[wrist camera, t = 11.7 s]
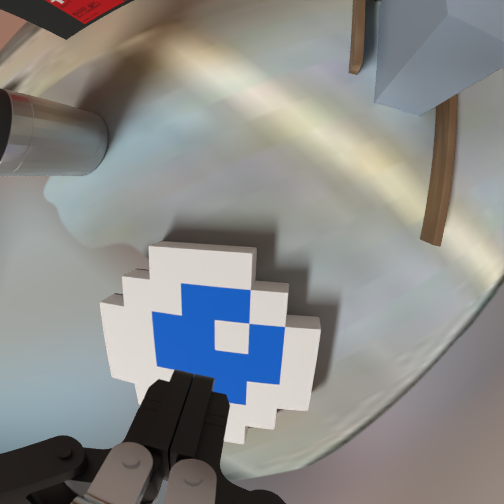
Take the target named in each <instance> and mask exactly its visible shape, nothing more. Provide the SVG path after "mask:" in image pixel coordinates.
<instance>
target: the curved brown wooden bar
mask: <svg viewBox="0 0 504 504" xmlns="http://www.w3.org/2000/svg"><path fill="white" fill-rule="evenodd" d="M364 33H365V0H353V15H352V35H351V50H350V64H349V73H351V74H356V75H357V74H358V72H359V69H360V67H361V65H362V63H363V55H364ZM456 123H457V94H456V95H454V96H452V97H451V98H449V99H447V100H446V101H444V102H442V103H441V104H439V105H437V106H436V123H435V138H434V149H433V160H432V169H431V177H430V184H429V191H428V198H427V204H426V210H425V216H424V221H423V227H422V232H421V237H420V239H421V240H423V241H425V242H428V243H430V244H432V245H436V246H441V242H442V237H443V232H444V227H445V221H446V216H447V210H448V204H449V197H450V190H451V183H452V175H453V165H454V155H455V142H456Z"/></svg>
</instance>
